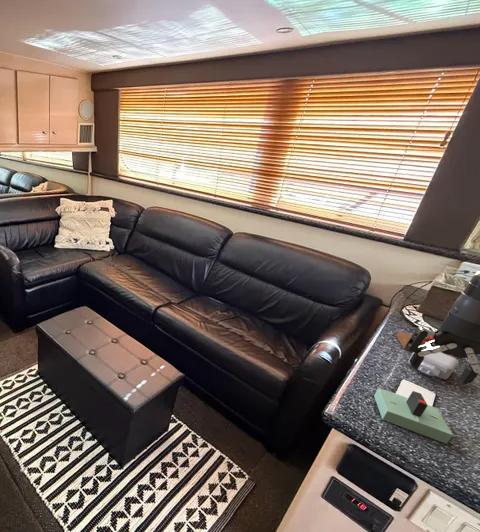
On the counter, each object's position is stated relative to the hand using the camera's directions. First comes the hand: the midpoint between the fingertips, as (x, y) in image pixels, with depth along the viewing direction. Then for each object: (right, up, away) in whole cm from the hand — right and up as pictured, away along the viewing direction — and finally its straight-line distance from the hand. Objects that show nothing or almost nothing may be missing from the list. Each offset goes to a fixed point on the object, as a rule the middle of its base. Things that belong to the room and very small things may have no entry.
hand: (437, 374), depth 76 cm
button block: (+38, -4, +38) cm, 54 cm away
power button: (+38, 0, +37) cm, 53 cm away
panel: (-1, -13, +6) cm, 15 cm away
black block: (-1, -11, +5) cm, 12 cm away
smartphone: (+9, -12, +14) cm, 21 cm away
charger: (+26, -8, +26) cm, 38 cm away
